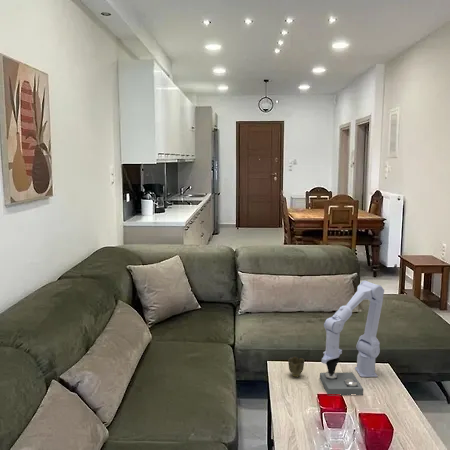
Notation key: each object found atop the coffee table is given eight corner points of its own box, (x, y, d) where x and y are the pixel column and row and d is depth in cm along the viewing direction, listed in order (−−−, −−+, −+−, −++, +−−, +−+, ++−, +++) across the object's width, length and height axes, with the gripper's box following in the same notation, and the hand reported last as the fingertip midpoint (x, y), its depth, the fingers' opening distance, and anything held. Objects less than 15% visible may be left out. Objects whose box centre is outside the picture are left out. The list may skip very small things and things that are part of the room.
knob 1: (323, 379, 214) (323, 371, 213) (334, 379, 214) (335, 371, 213) (326, 384, 208) (326, 377, 208) (338, 384, 209) (338, 376, 208)
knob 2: (343, 386, 207) (343, 378, 206) (354, 386, 207) (355, 378, 207) (346, 392, 202) (347, 384, 201) (358, 392, 202) (359, 384, 201)
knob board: (319, 378, 215) (320, 372, 215) (352, 378, 216) (352, 372, 215) (328, 395, 200) (328, 388, 200) (362, 395, 201) (363, 388, 200)
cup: (306, 375, 219) (307, 358, 217) (300, 381, 212) (300, 364, 211) (291, 371, 223) (292, 355, 221) (285, 377, 216) (285, 360, 215)
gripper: (332, 337, 216) (331, 365, 218) (316, 346, 206) (314, 376, 208) (346, 341, 212) (345, 370, 214) (330, 351, 201) (328, 381, 203)
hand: (331, 373), depth 211 cm, fingers closed
